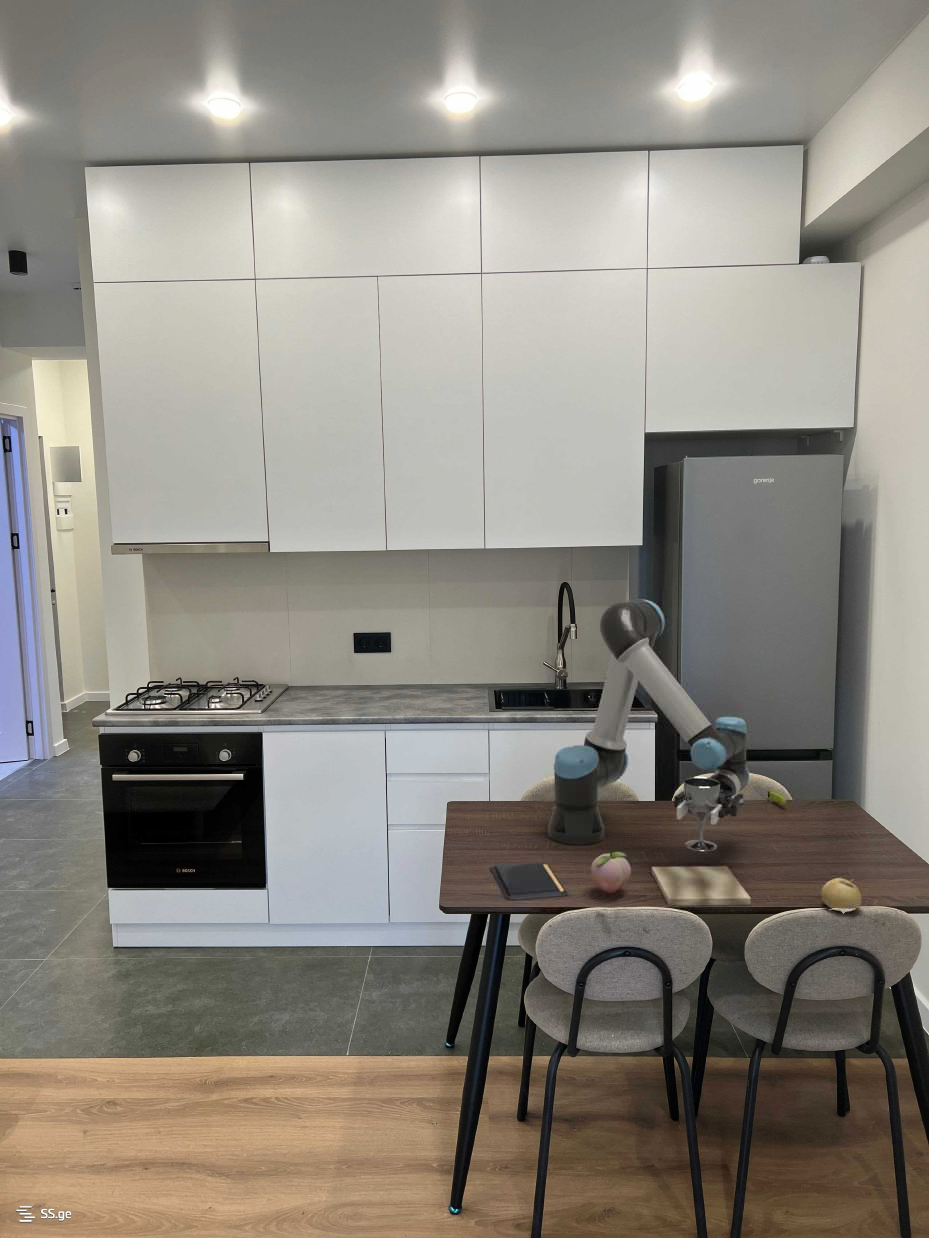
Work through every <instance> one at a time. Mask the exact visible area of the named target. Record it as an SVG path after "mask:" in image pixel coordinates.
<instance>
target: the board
mask: <svg viewBox="0 0 929 1238" xmlns="http://www.w3.org/2000/svg"><path fill="white" fill-rule="evenodd" d="M651 874H652V876H653V877H654V878H653V879H655V881H656V883H657V886H658V887H659V890H660V892H661V893H662V895H663V897H664V899H665V902H667V905H668V906H669V907H670V906H748V905H749V906H750V905H752V904H751V903H752V901H751V900H752V898H751V897H750V895H749V893H748V892H746V890H745V888H744V887H743V885H741V883H740V882H739V881H738V879H737V878H736V876H734V874H733V873H732V872H731V870H730V869H729V868H728V866H727V865H726V866H725V865H722V866H717V865H715V866H713V865H711V866H706V865H705V866H651Z"/></svg>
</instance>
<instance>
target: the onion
mask: <svg viewBox="0 0 929 1238" xmlns="http://www.w3.org/2000/svg"><path fill="white" fill-rule="evenodd" d="M853 881H854V878H852V879H850V880H848V879H845V878H841V877H836V878H833V879H831V880H828V881H827V882H826V883H825V884H824V885H823V886H822V889H821V893H820V895H821V899H822V901H823V904H825V905H826V907H828V908H830V909H831V908H857V909H859V908H860V906H861V904H862V895H861V892H860V890H859V888H858V887H857V886H856V885H855V884H854V883H853Z"/></svg>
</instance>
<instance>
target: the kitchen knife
mask: <svg viewBox="0 0 929 1238" xmlns="http://www.w3.org/2000/svg"><path fill="white" fill-rule="evenodd" d="M756 785H757V788H756V787H755V786H753V785H752V787H753V789H754V790H755V791H756V792H757V793H759V794H761V795H762V796H763V797H765V798H766V799H768V800H769V802H770V803H775V802H780V805H786V803H787V799H786V797H784V796H783V795H780V794H779V793H777V792H775V791H772V790H769V789H766V788H764V787H762V786H760V785H759V784H756Z"/></svg>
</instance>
